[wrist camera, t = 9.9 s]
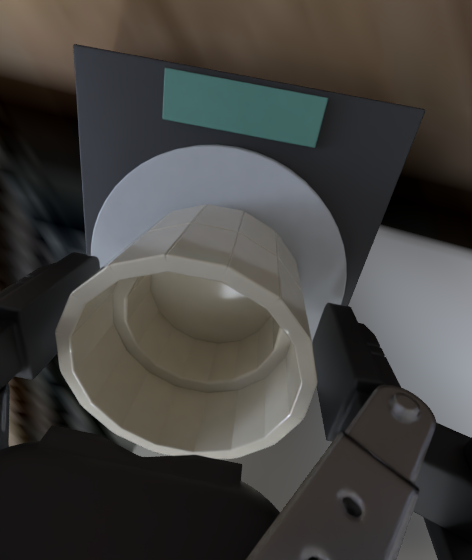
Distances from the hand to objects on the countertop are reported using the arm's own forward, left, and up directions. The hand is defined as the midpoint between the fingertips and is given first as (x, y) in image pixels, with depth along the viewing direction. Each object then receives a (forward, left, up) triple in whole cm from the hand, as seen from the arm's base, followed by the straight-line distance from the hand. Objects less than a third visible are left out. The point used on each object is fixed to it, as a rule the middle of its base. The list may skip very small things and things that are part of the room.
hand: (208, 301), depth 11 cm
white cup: (0, 0, -1) cm, 1 cm away
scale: (0, 0, -4) cm, 4 cm away
